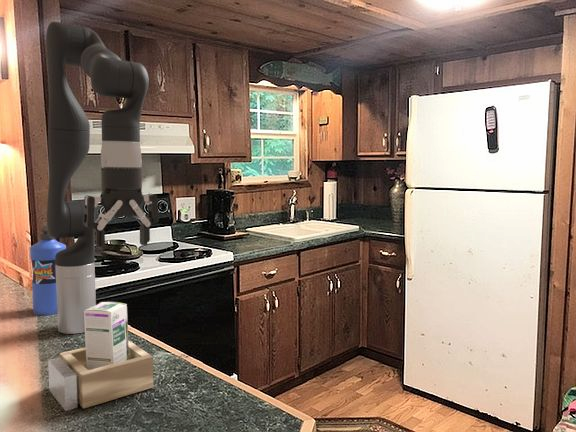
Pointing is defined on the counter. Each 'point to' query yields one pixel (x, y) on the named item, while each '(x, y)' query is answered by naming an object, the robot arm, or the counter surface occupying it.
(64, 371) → the backstop wall
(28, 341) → the counter surface
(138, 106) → the robot arm
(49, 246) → the water bottle
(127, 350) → the syrup box
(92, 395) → the open wooden box
